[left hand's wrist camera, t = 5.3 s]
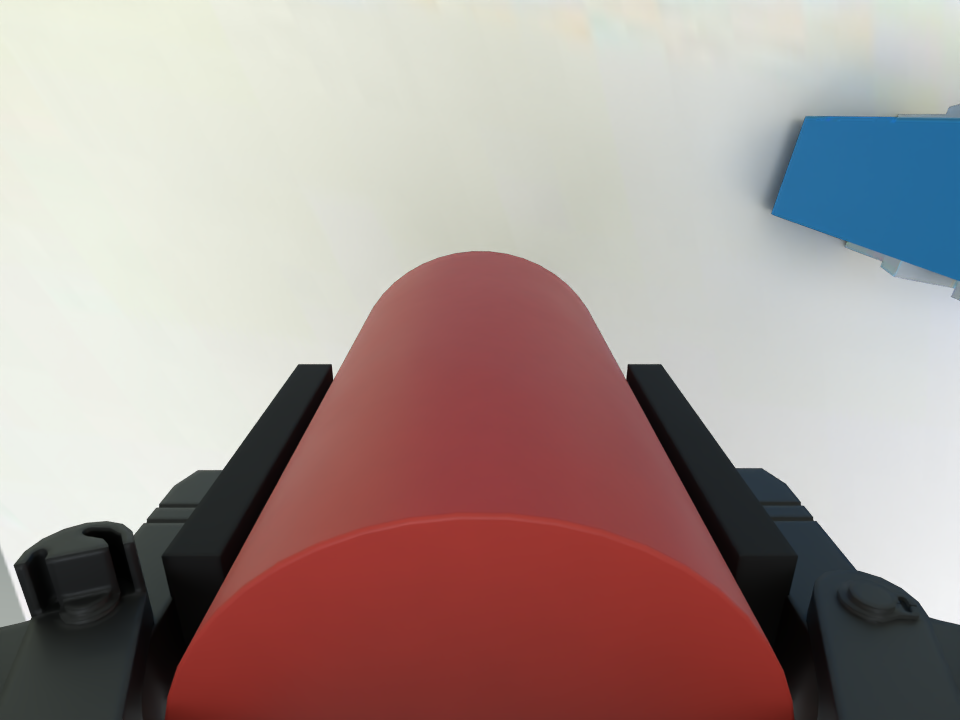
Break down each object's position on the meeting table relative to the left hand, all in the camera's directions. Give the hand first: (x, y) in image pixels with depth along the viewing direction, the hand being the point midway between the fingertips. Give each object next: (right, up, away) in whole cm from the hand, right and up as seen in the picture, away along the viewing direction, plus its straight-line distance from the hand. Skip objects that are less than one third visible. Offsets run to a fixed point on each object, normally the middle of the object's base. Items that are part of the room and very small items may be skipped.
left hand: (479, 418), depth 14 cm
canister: (0, +1, +2) cm, 3 cm away
